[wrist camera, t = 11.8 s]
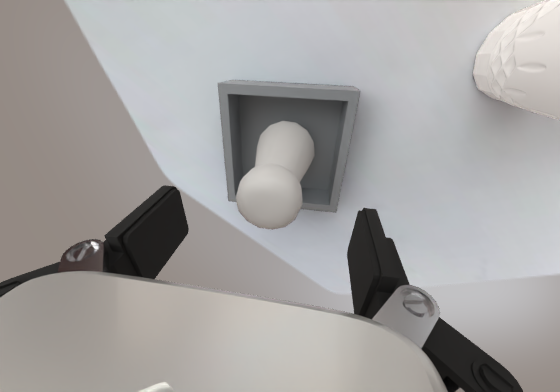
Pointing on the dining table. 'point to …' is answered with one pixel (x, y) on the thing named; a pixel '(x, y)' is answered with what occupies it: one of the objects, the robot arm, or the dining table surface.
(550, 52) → the white cup
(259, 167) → the salt shaker
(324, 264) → the dining table surface
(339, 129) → the box
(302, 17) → the dining table surface
